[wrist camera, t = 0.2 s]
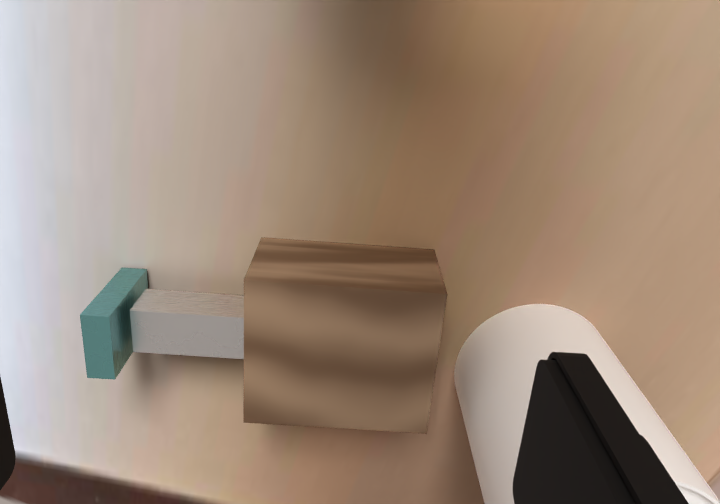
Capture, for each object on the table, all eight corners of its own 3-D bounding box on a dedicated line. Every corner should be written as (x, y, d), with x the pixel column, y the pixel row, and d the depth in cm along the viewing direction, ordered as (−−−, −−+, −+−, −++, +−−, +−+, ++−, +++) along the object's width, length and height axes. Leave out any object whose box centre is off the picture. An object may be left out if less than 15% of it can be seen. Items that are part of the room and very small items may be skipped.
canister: (590, 435, 56) (703, 648, 38) (446, 429, 56) (489, 641, 37) (622, 307, 51) (771, 482, 32) (463, 300, 51) (523, 472, 32)
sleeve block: (261, 237, 48) (243, 280, 41) (434, 249, 49) (447, 294, 41) (259, 363, 53) (243, 422, 46) (417, 373, 53) (426, 433, 46)
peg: (121, 267, 49) (80, 314, 42) (294, 279, 50) (282, 328, 42) (126, 323, 51) (87, 377, 44) (292, 334, 52) (281, 389, 44)
